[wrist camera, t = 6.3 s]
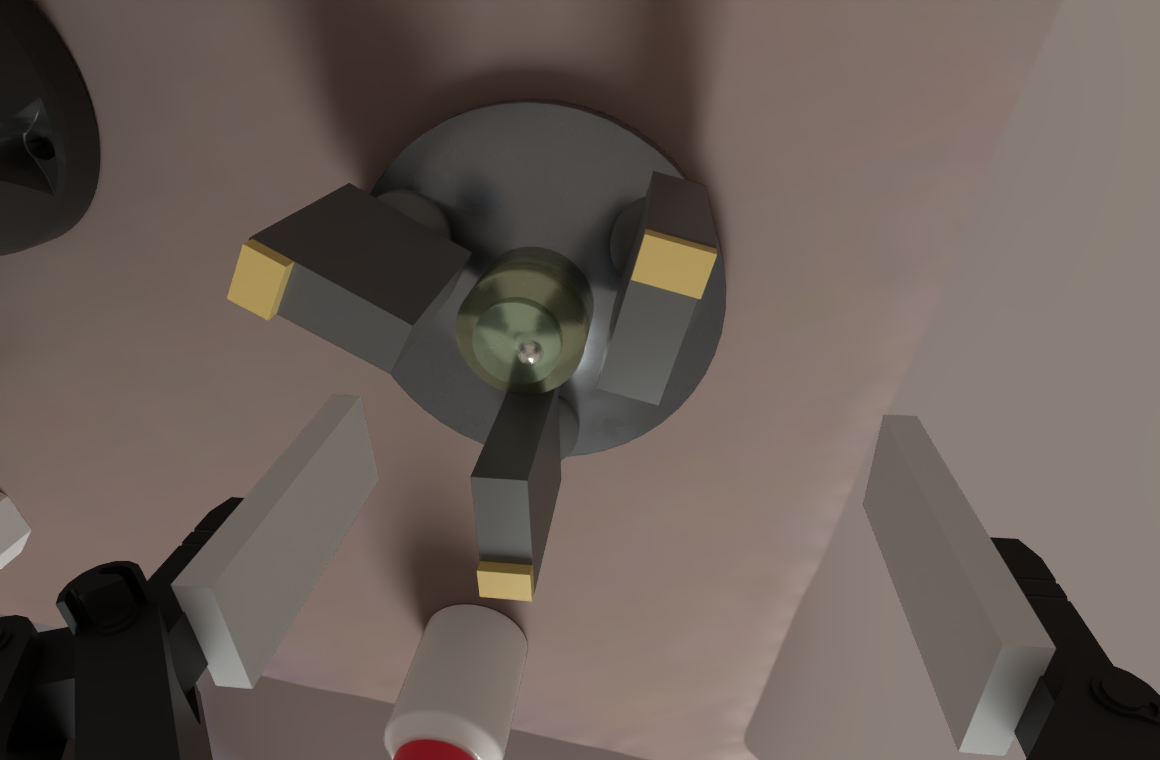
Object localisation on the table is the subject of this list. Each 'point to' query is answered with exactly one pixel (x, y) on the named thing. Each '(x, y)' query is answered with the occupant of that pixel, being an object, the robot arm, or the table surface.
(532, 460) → the knob
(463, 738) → the pill bottle
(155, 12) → the table surface
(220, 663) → the robot arm
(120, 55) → the table surface
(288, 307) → the knob
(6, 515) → the mug
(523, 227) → the plate
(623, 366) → the leg
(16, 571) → the table surface
